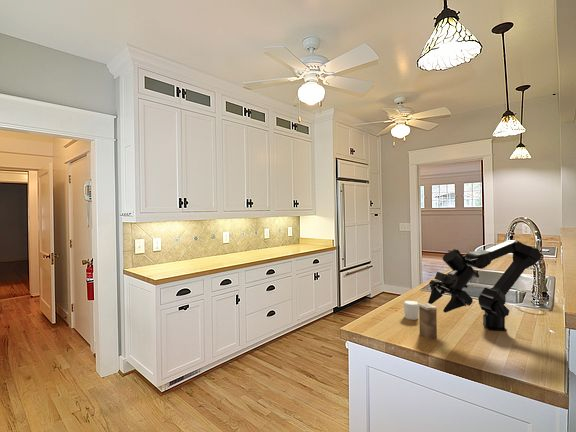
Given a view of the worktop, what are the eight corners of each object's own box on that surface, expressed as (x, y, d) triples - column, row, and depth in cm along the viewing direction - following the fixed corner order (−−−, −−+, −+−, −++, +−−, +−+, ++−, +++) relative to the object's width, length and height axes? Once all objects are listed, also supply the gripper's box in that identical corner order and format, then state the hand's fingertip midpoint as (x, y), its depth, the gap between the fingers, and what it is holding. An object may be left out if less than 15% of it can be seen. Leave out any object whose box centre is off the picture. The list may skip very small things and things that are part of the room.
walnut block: (428, 332, 123) (428, 303, 122) (436, 337, 118) (436, 307, 117) (419, 333, 122) (419, 303, 122) (427, 338, 117) (427, 308, 117)
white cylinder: (421, 320, 135) (420, 305, 135) (404, 319, 136) (404, 304, 136) (417, 315, 142) (417, 300, 142) (402, 314, 143) (401, 299, 143)
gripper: (432, 260, 130) (409, 288, 128) (465, 269, 111) (438, 302, 110) (449, 277, 131) (426, 305, 130) (484, 289, 113) (458, 321, 111)
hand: (436, 307), depth 120 cm, fingers open, 9 cm apart
